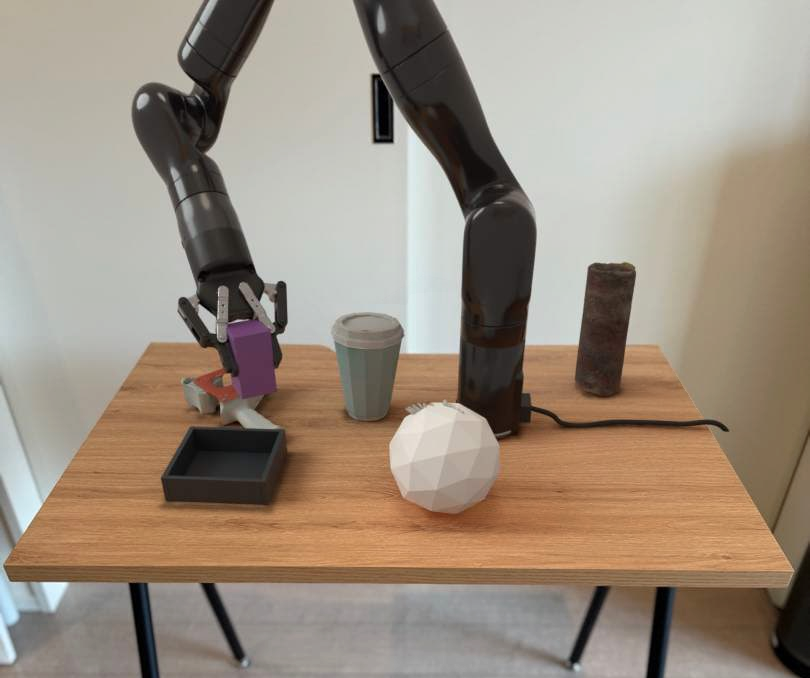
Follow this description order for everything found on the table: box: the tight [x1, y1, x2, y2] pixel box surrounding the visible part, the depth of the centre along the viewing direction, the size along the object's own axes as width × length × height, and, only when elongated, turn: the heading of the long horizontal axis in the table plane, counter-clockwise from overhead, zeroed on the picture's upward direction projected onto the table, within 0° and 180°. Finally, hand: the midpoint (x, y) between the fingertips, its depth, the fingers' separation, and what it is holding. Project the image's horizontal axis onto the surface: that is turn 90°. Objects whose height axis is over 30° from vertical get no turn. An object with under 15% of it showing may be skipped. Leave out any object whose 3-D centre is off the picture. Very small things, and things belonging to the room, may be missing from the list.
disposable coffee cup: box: [330, 311, 405, 422], centre depth 119 cm, size 11×11×15 cm
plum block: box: [226, 319, 278, 399], centre depth 98 cm, size 4×4×8 cm
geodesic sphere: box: [388, 399, 501, 515], centre depth 100 cm, size 15×14×14 cm
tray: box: [160, 425, 288, 506], centre depth 107 cm, size 13×13×4 cm
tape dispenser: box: [180, 367, 284, 429], centre depth 121 cm, size 18×5×20 cm
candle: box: [574, 261, 637, 397], centre depth 125 cm, size 8×7×20 cm
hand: (256, 369), depth 97 cm, fingers closed on plum block, 4 cm apart
